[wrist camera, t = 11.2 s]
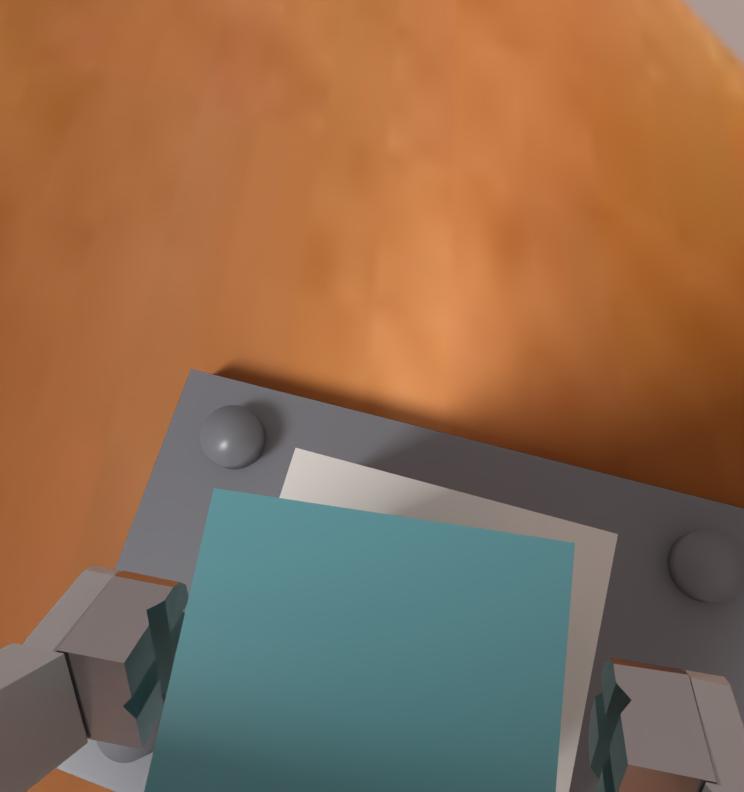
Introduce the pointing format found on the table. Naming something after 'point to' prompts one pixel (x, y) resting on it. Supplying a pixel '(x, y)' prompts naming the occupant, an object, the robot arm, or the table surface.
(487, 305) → the table surface
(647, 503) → the stack base
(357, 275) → the table surface
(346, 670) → the teal brick
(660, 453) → the table surface
